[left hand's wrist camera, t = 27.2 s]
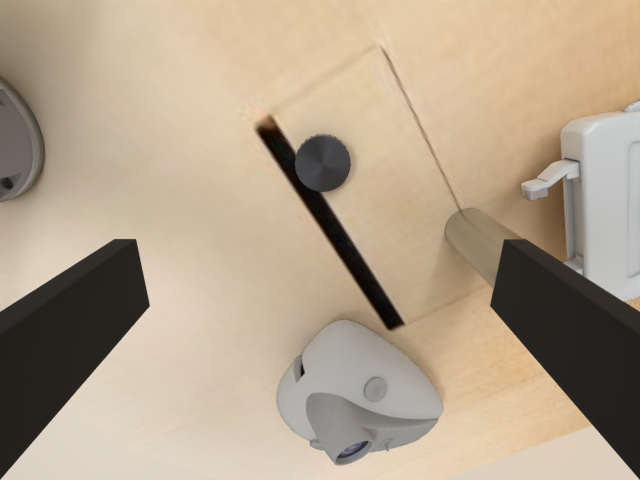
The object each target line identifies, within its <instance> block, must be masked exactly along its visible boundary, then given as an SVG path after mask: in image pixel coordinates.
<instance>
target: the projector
mask: <svg viewBox="0 0 640 480" xmlns="http://www.w3.org/2000/svg"><path fill="white" fill-rule="evenodd" d="M277 406H278V410H279V412H280V415H281V417H282V418H283V420H284V422H285V423H286V424H287V425H288V427H289V428H290V429H291V430H292V431H294V432H295V433H296V434H297V435H299V436H301V437H302V438H304V439H306V440H308V441H310V446H311V447H313V448H315V449H318V450H325V452H326V453H327V455H328V456H329V457H330V459H331V460H332V461H333V462H334V464H335V465H346V464H350V463H352V462H355V461H357V460H359V459H360V458H362V457H363V456H365V455H366V454H368V453H369V452H376V451H382V450H387V452H388V451H389V449H392V448H396V447H399V446H403V445H406V444H409V443H412V442H414V441H416V440H418V439H420V438H421V437H423V436H424V435H425V434H427V433H428V432H429V431H430V430H431V429H432V428H433V427H434V425H435V424H436V423H437V421H438V418H439V417H440V416H441V414H442V412H443V403H442V400H441V397H440V395H439V393H438V391H437V389H436V388H435V386H434V385H433V383H432V382H431V381H430V379H429V378H428V377H427V376H426V375H425V373H424V372H423V371H422V370H421V369H420V368H419V367H418V366H417V365H416V364H415V363H414V362H413V361H412V360H411V359H410V358H409V357H408V356H406V355H405V354H404V353H403V352H402V351H400V350H399V349H398V348H396V347H395V346H394V345H392V344H391V343H390V342H388V341H387V340H385V339H384V338H382V337H381V336H379V335H378V334H376V333H375V332H373V331H371V330H370V329H368V328H366V327H364V326H362V325H360V324H358V323H356V322H353V321H350V320H338V321H335V322H332V323H330V324H329V325H327V326H326V327H324V328H323V329H322V330H321V331H320V332H319V333H318V334H317V335H316V336H315V337H314V338H313V339H312V341H311V342H310V343H309V344H308V345H307V346H306V348H305V349H304V351H303V354H302V355H301V356H299V357H297V358H296V359H295V361H294V362H293V363H292V364H291V366H290V367H289V368H288V369H287V371H286V372H285V374H284V375H283V377H282V379H281V381H280V383H279V386H278V390H277Z"/></svg>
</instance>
